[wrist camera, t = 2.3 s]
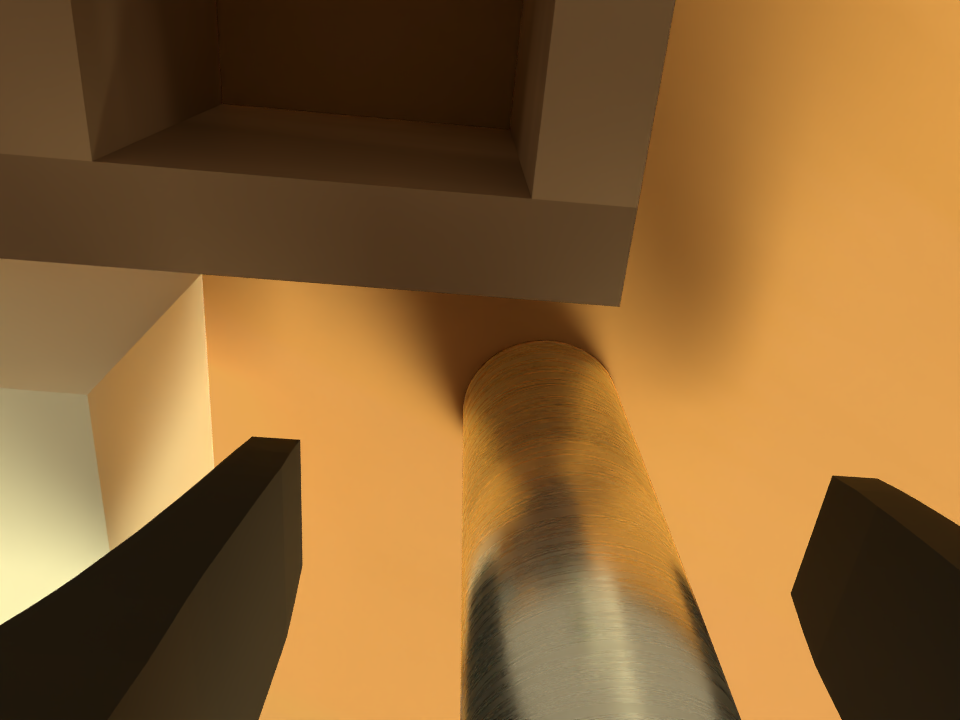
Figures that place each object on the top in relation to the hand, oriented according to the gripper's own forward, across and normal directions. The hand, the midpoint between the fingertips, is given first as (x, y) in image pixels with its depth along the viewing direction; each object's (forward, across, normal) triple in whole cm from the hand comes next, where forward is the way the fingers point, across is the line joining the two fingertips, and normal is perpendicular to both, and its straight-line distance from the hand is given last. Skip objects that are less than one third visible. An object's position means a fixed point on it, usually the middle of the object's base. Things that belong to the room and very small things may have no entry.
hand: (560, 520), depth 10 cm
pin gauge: (+3, 0, 0) cm, 3 cm away
